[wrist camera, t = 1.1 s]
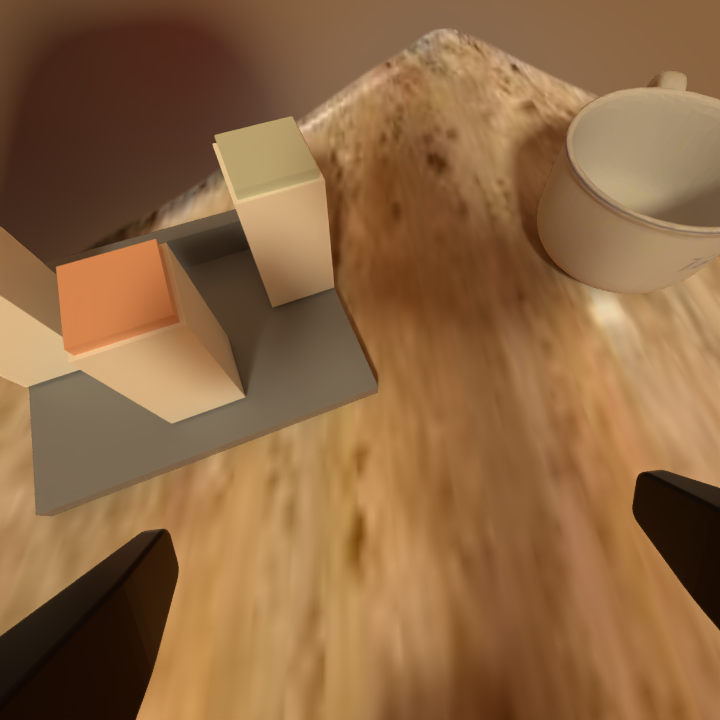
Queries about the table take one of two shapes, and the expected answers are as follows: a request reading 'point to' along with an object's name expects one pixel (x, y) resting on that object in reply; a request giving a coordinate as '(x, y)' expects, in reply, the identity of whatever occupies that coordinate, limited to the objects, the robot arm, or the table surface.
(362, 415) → the table surface
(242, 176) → the beige upright block
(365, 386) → the keypad board
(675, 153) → the teacup
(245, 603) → the table surface
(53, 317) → the key
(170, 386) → the key
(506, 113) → the table surface
